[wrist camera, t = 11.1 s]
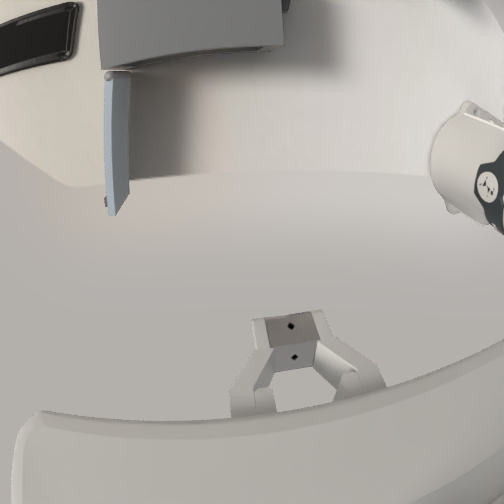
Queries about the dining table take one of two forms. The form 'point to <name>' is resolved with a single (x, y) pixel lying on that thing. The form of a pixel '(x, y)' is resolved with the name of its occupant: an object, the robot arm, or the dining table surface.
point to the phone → (38, 38)
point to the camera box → (185, 29)
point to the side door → (116, 138)
